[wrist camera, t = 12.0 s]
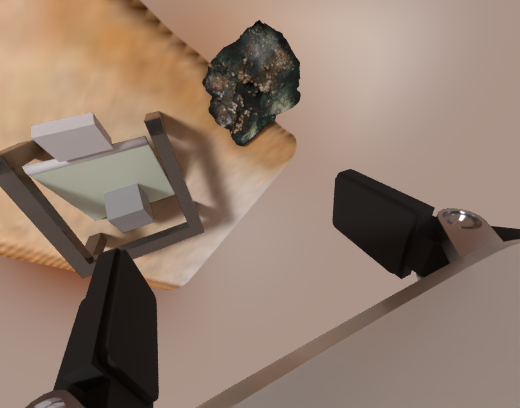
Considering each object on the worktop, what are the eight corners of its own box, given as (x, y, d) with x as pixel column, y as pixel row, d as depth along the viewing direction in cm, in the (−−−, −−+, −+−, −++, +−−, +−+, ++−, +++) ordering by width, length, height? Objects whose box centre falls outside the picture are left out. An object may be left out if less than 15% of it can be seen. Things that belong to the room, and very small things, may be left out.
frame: (18, 143, 31) (-23, 160, 24) (158, 111, 36) (160, 117, 29) (95, 244, 42) (82, 278, 34) (196, 208, 47) (204, 231, 39)
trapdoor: (-14, 134, 23) (-16, 148, 22) (129, 104, 26) (132, 115, 26) (94, 213, 40) (95, 223, 39) (173, 188, 43) (175, 196, 42)
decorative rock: (257, 160, 43) (188, 112, 34) (246, 149, 48) (182, 105, 38) (320, 71, 39) (261, -10, 30) (301, 69, 44) (245, -1, 34)
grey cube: (103, 193, 34) (107, 220, 32) (137, 183, 36) (143, 208, 34) (118, 207, 39) (123, 232, 37) (148, 198, 40) (154, 221, 38)
